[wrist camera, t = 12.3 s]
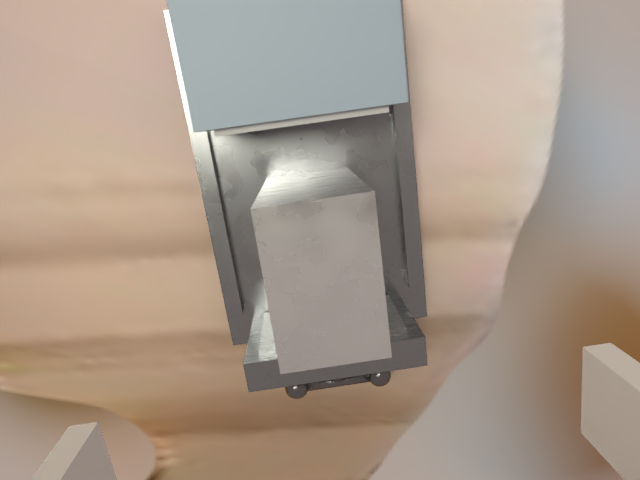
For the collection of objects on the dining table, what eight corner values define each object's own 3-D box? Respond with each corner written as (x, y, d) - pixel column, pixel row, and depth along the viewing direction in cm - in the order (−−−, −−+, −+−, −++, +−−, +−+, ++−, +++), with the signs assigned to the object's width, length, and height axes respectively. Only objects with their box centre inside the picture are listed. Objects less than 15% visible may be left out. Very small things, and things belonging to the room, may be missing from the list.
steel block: (285, 290, 35) (280, 374, 23) (266, 178, 33) (250, 208, 21) (360, 279, 35) (392, 357, 23) (346, 166, 33) (374, 191, 21)
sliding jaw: (217, 136, 31) (195, 139, 24) (194, 20, 29) (164, -10, 22) (384, 112, 31) (408, 109, 25) (373, -4, 29) (396, -42, 23)
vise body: (243, 373, 38) (229, 442, 30) (169, 15, 31) (123, -24, 23) (424, 346, 39) (459, 407, 30) (395, -16, 31) (430, -65, 23)
